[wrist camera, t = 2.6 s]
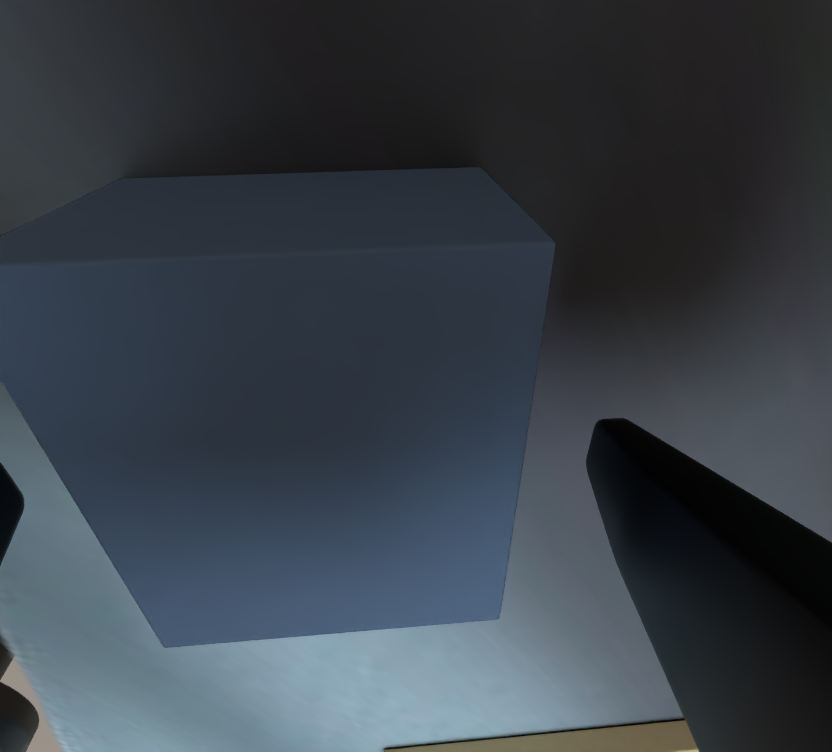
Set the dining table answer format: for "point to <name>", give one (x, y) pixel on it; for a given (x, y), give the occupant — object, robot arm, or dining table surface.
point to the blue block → (285, 391)
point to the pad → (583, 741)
